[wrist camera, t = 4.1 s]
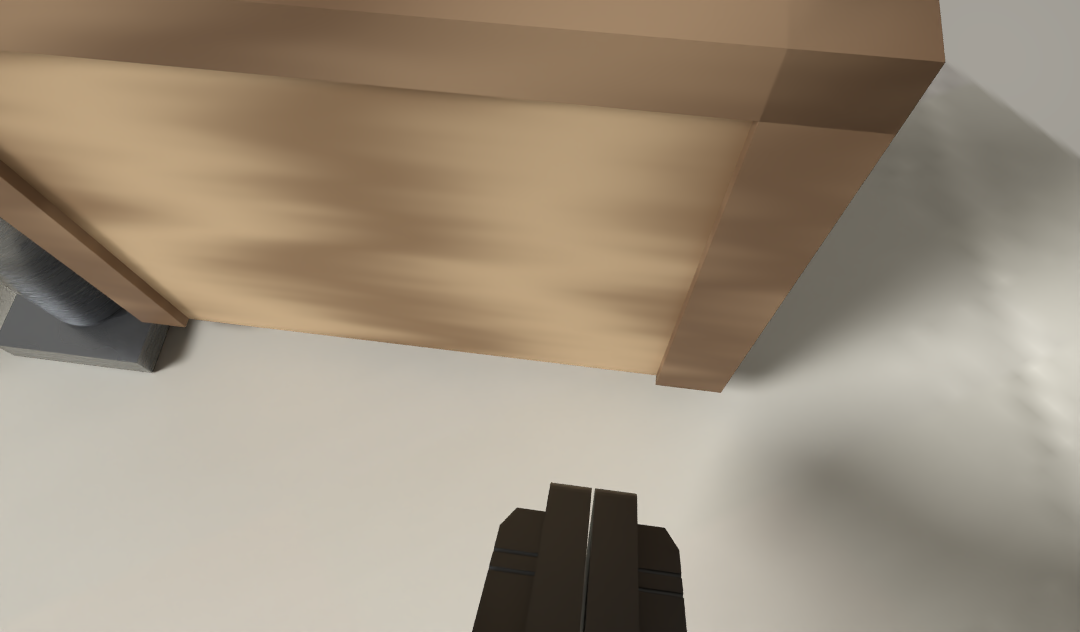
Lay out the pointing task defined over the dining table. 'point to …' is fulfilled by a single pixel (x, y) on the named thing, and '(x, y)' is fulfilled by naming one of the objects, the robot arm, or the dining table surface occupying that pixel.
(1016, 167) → the dining table surface
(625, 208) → the gate
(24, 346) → the grey upright posts
